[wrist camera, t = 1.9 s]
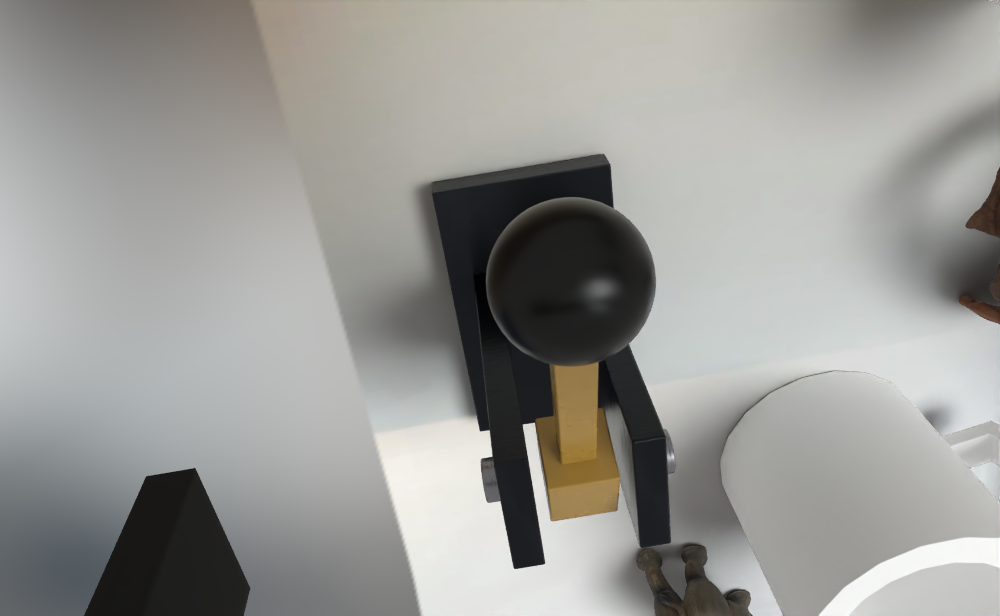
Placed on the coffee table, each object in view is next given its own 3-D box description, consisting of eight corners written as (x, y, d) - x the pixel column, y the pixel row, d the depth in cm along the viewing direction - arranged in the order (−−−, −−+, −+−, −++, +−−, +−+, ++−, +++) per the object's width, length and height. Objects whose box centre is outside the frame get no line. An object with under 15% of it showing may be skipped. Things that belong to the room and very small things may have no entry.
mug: (977, 318, 37) (1158, 473, 28) (986, 469, 42) (1142, 641, 33) (700, 412, 39) (785, 587, 29) (741, 546, 44) (825, 732, 34)
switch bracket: (431, 182, 32) (434, 361, 20) (604, 153, 31) (699, 318, 20) (478, 415, 38) (500, 651, 27) (623, 392, 38) (704, 617, 27)
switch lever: (466, 176, 16) (488, 318, 14) (637, 148, 16) (683, 287, 14) (516, 441, 27) (532, 544, 25) (619, 424, 27) (643, 526, 25)
